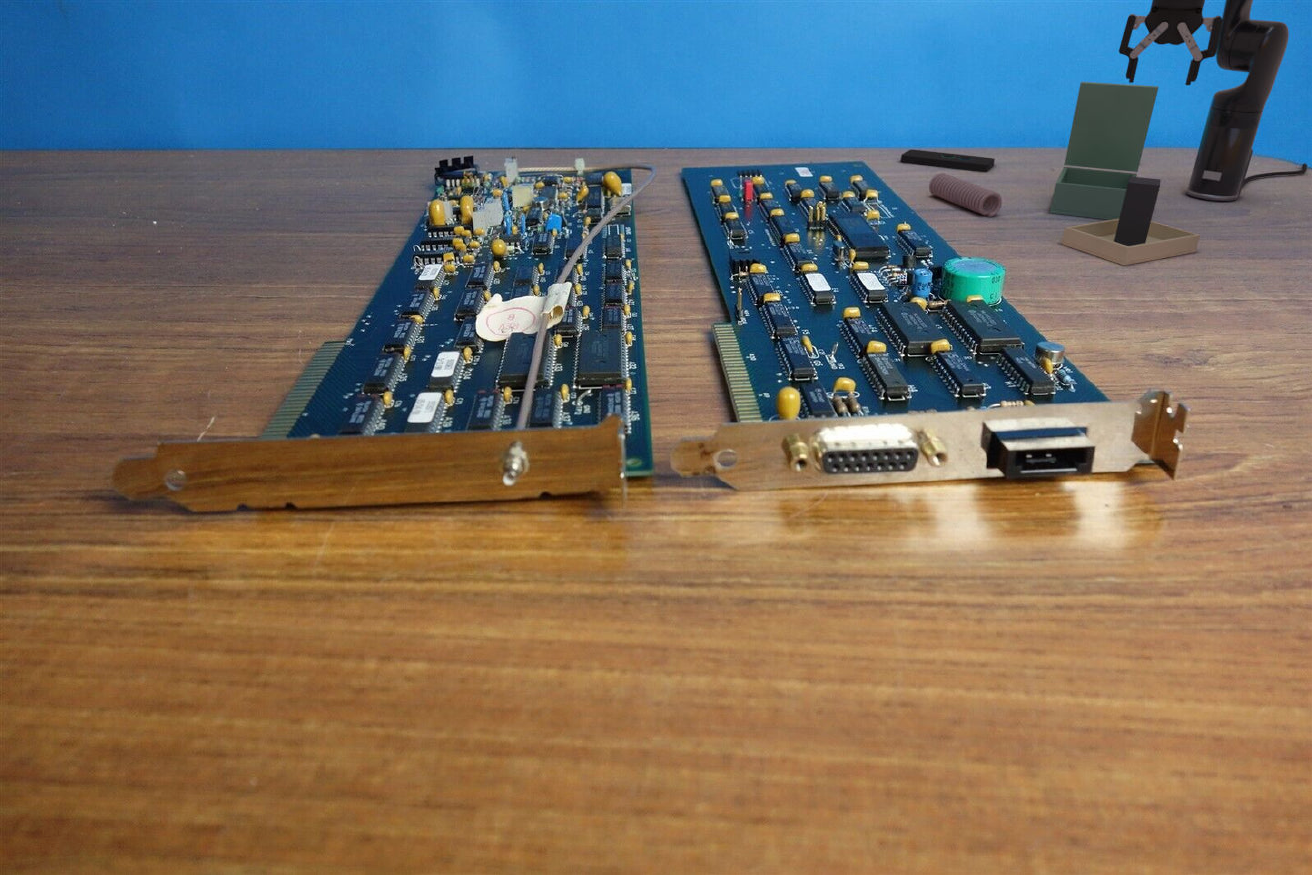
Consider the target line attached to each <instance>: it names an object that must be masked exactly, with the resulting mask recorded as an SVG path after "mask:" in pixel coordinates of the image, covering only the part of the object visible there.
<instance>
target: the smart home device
mask: <svg viewBox="0 0 1312 875" xmlns="http://www.w3.org/2000/svg"><path fill="white" fill-rule="evenodd" d="M995 160H996V159H995V158H992V157H987V156H986V157H984V156H976V155H966V154H957V153H949V152H940V151H931V150H921V149H908V150H906V151H905V152H904V153H902V154H901V156H900V163H906V164H913V165H922V166H931V167H938V168H939V167H941V168H948V169H957V170H958V169H959V170H964V171H965V170H967V171H975V172H984V173H985V172H989V170H990V169H991V168H993V167H994V166H995Z"/></svg>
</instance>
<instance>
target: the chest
mask: <svg viewBox="0 0 1312 875" xmlns="http://www.w3.org/2000/svg"><path fill="white" fill-rule="evenodd" d="M1129 177H1138V173H1136V172H1133V173H1132V172H1125V171H1115V170H1104V169H1094V168H1082V167H1073V166H1064V167H1063V168H1062V170H1061V172H1060V174H1059V176H1058V178H1057V180H1056V182H1055V185H1054V191H1053V196H1052V201H1051V205H1050V210H1049V214H1055V215H1064V216H1072V217H1081V218H1091V219H1098V220H1099V219H1100V220H1106V221H1107V220H1113V219H1119V218H1120V213H1121V209H1122V205H1123V201H1124V197H1125V193H1126V189H1127V185H1128V181H1129Z"/></svg>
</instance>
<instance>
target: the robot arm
mask: <svg viewBox="0 0 1312 875" xmlns="http://www.w3.org/2000/svg"><path fill="white" fill-rule="evenodd" d="M1205 2H1206V0H1152V1H1151V6H1150V10H1149V12H1148V14H1147V15H1137V14H1135V13H1131V14H1129V15H1128V17H1127V20H1126V22H1125V23H1126V24H1125V27H1124V32H1123V34H1122V38H1121V41H1120V45H1119V49H1118V53H1119V54H1120V55H1123V56H1126V57H1128V63H1127V68H1126V73H1125V78H1126V80H1128V83H1129V84H1134V81H1135V77H1136V73H1137V72H1136V71H1137V68H1138V63H1139V56H1140V55H1141V54H1142V53H1143V52H1144V51H1145V50H1146V49H1147V48H1148V47H1150V45H1152V44H1153V43H1155V44H1157V45H1162V46H1163V45H1172V46H1180V45H1182V44H1184V43H1185V45H1186V47H1187V49H1188V51H1189V53H1190V55H1191V56H1192V59H1191V60H1190V63H1189V67H1188V71H1187V75H1186V79H1185V83H1184V85H1185V86H1191V84H1192V83H1194V82H1196V80H1197V79H1198V76H1199V72H1200V67H1201V64H1202V62H1203V60H1205V59H1208V58H1214V57H1215V62H1216V64H1217V66H1218V67H1219V68H1220V69H1222V70H1226V71H1232V72H1240V73H1248V74H1247V76H1246V78H1245V80H1244V81H1243V83H1241V84H1239V85H1238V86H1237V85H1236V86H1235V87H1231V88H1227V89H1222V90H1218V91H1216V92H1215V93H1214V94H1213V96H1212V98H1211V102H1210V107H1209V109H1208V112H1207V117H1206V120H1205V124H1204V128H1203V132H1202V135H1201V139H1200V142H1199V145H1198V149H1197V152H1196V157H1195V161H1194V165H1193V168H1192V171H1191V175H1190V177H1189V181H1188V186H1187V188H1186V192H1185V193H1186V195H1188V196H1189V197H1193V198H1196V199H1200V200H1206V201H1214V202H1231V201H1236V200H1238V198H1239V197H1240V196H1241V193H1242V190H1243V188H1244V186H1246V184H1247V182H1249V181H1251V180H1255V179H1259V178H1266V177H1274V176H1295V175H1302V174H1304V173H1305V172H1307V169H1308V164H1307V163H1303V164H1302V165H1301V169H1300V170H1290V171H1289V170H1288V171H1273V172H1272V171H1271V172H1265V173H1258V174H1253V175H1249V176H1247V173H1248V170H1249V166H1250V163H1251V159H1252V156H1253V154H1254V150H1253V147H1254V142H1255V140H1256V135H1257V133H1258V129H1259V126H1260V123H1261V119H1262V115H1263V112H1264V110H1265V106H1266V104H1267V101H1268V99H1269V97H1270V95H1271V93H1272V90H1273V87H1274V84H1275V81H1276V78H1277V75H1278V73H1279V70H1280V67H1281V64H1282V61H1283V59H1284V57H1285V53H1286V50H1287V47H1288V42H1289V37H1290V33H1289V32H1290V31H1289V27H1288V25H1287V24H1286V22H1282V21H1274V20H1262V19H1261V20H1260V19H1251V11H1252V7H1253V2H1254V0H1224V5H1223V10H1222V16H1221V15H1216V16H1212V17H1211V16H1209V17H1207V16H1206V17H1204V15H1203V10H1204V6H1205ZM1142 24H1144V26H1145V27H1146V29H1147V32H1148V33H1147V35H1146V36H1144V38H1142V39H1141V41H1140V42H1139V43H1138V44H1137V45H1136V46H1134V48H1133V47H1131V46H1130V42H1131V37H1132V33H1133V31H1135V30H1138V29H1139V27H1140V25H1142ZM1203 25H1204V26H1205V29H1206V30H1205V31H1207V32H1209V39H1208V43H1207V49H1206V48H1205V49H1203V50H1201V49H1200V47H1199V46H1198V44H1197V41H1196V40H1195V37H1194V36H1193V34H1195V33H1196V32H1197V31H1198V30H1199V29H1200V28H1201V27H1202V26H1203ZM1246 176H1247V177H1246Z"/></svg>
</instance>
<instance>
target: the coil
mask: <svg viewBox="0 0 1312 875" xmlns="http://www.w3.org/2000/svg"><path fill="white" fill-rule="evenodd" d="M928 190H929V193H930V194H931V195H932V196H935V197H938V198H939V199H942V200H944V201H946V202H947V201H948V202H950V203H952V204H954V205H957V206H960V207H962V208H965V209H967V210H969V211H971V212H975V213H977V214H979V215H982V216H985V217H986V216H988V218H991V217H994V216H995V215H997V214H998V213H999V211H1000V210H1001V208H1002V204H1003V200H1002V196H1001V194H1000V193H998V192H996V191H994V190H991V189H988V188H985V187H983V186H980V185H978V184H974V183H972V182H969V181H966V180H963V179H961V178H958V177H955V176H953V175H950V174H946V173H944V172H940V173H937V174H935V175H934V176H933V177H932V178H931V179H930V182H929V184H928Z"/></svg>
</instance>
